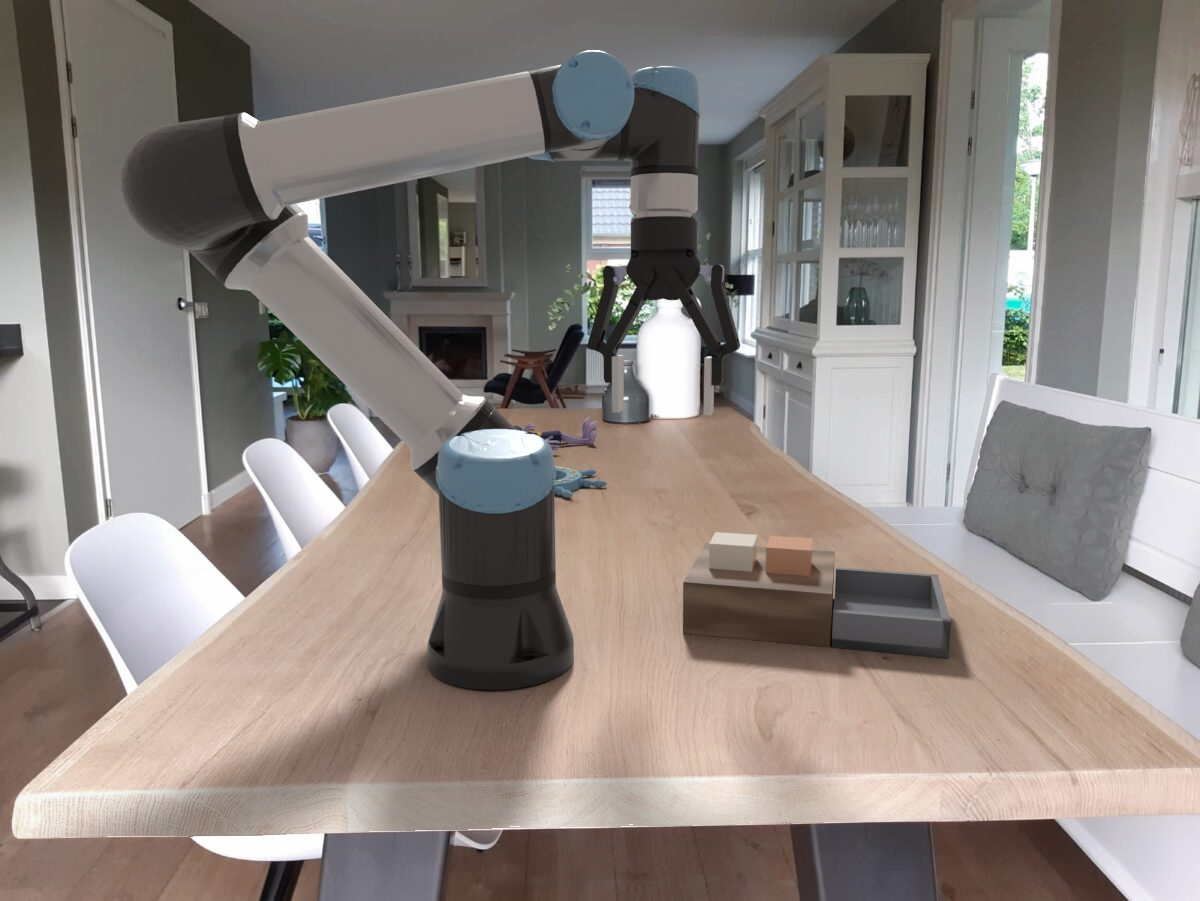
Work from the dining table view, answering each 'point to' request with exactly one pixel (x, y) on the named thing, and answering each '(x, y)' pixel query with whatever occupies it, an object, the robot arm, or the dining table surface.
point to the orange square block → (789, 555)
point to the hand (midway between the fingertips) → (662, 412)
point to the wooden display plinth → (760, 601)
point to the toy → (557, 436)
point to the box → (890, 613)
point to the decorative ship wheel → (573, 481)
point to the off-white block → (733, 551)
